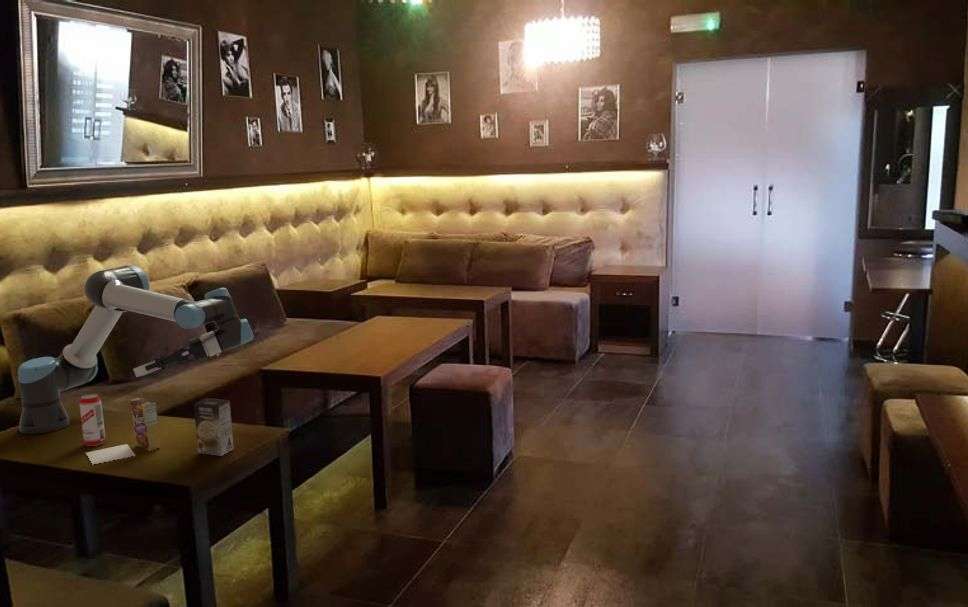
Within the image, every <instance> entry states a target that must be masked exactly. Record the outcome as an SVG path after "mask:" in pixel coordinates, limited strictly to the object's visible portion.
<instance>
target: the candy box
mask: <svg viewBox="0 0 968 607" xmlns="http://www.w3.org/2000/svg"><path fill="white" fill-rule="evenodd" d="M129 402H130V409H131V410H130V411H131V416H132V424H133V425H132V426H133V432H134V439H135V440H134V441H135V446H136V447H140V448H142V449H144V450H146V451H148V450H149V451H148V452H152V451H155V450H157V448H159V449H161V448H162V445H161V437H160V428H159V421H158V420H159V419H158V412H157V404H156V403H157V402H155V401H154V400H153V401H152V400H149V399H147V398H145V397H143V396H141V397H137V398H134V399H131V400H129ZM154 449H155V450H154ZM151 450H152V451H151Z"/></svg>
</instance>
